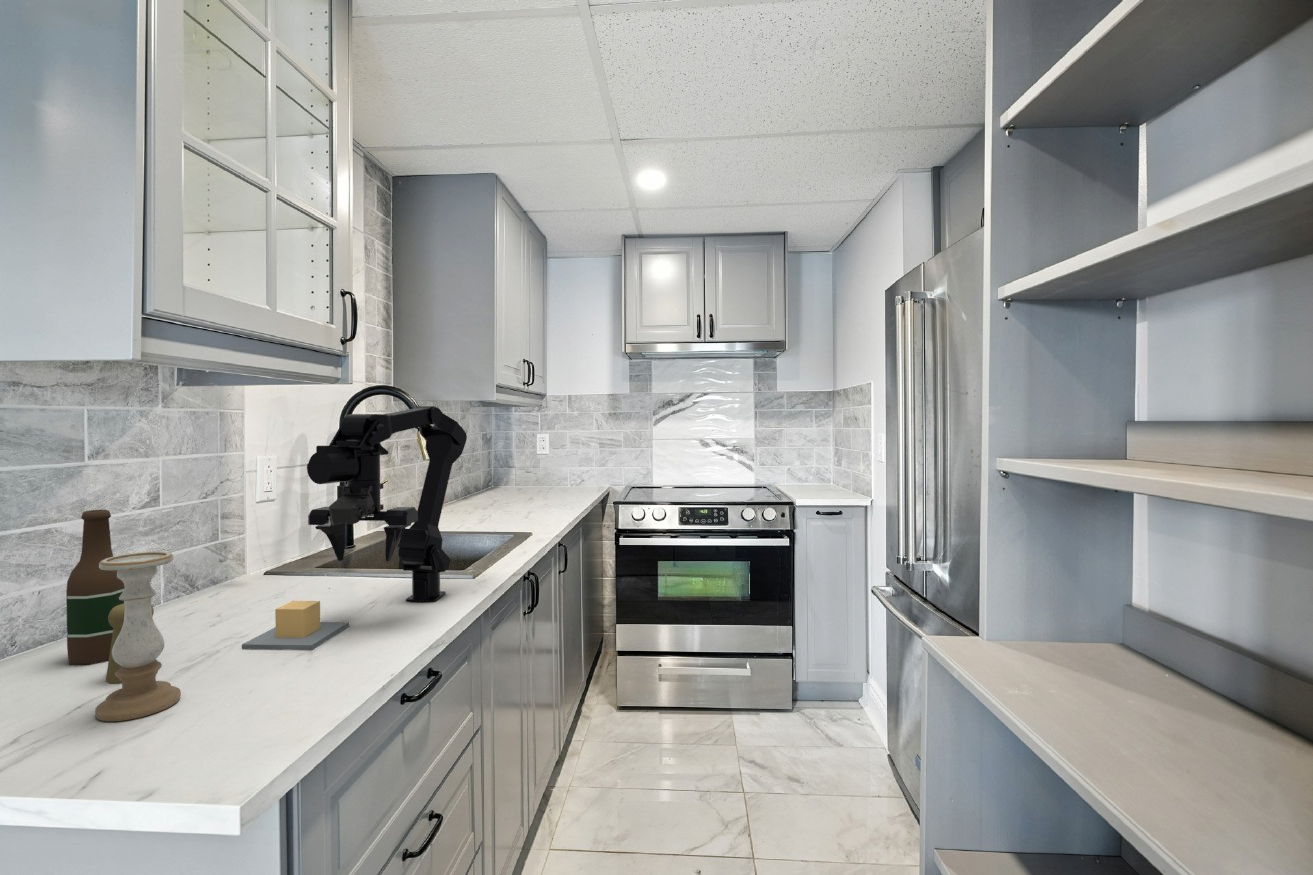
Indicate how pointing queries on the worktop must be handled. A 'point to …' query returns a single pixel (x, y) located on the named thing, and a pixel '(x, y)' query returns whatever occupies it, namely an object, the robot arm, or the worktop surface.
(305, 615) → the ochre cube
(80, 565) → the beer bottle
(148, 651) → the candle holder
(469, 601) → the worktop surface
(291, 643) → the grey mat
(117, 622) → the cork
